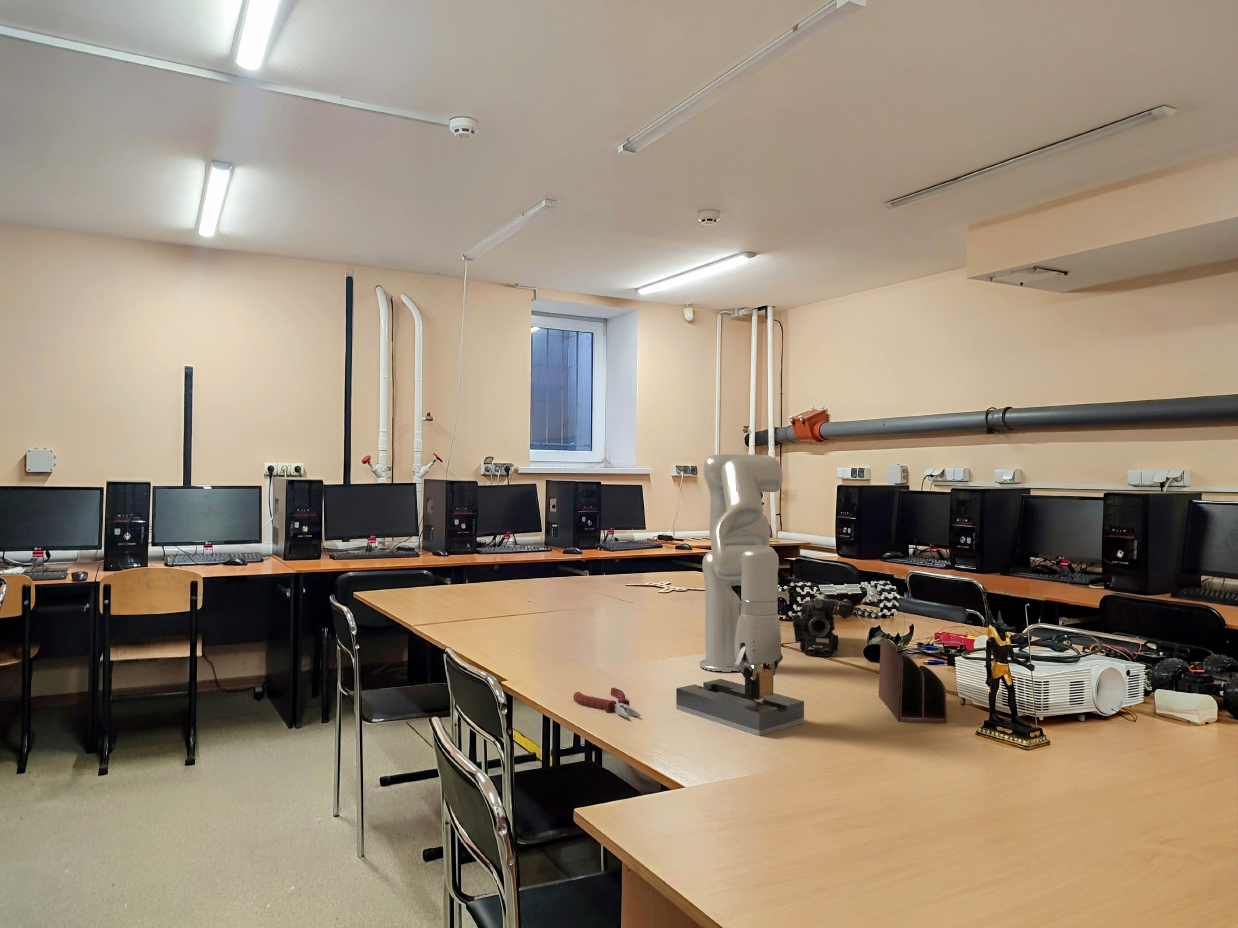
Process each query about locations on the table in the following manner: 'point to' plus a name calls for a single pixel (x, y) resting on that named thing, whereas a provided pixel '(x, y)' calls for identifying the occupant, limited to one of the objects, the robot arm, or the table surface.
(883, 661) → the letter holder
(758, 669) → the peg
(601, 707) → the pliers
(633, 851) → the table surface
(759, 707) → the keyhole track
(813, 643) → the movie camera
